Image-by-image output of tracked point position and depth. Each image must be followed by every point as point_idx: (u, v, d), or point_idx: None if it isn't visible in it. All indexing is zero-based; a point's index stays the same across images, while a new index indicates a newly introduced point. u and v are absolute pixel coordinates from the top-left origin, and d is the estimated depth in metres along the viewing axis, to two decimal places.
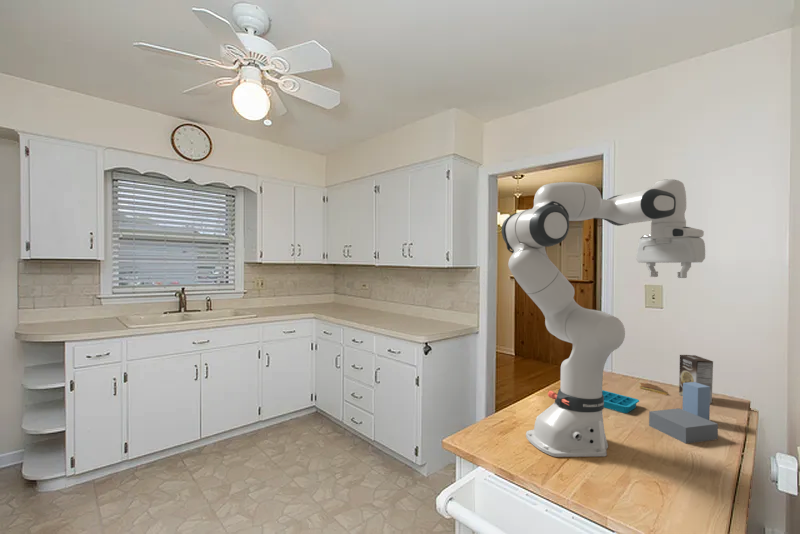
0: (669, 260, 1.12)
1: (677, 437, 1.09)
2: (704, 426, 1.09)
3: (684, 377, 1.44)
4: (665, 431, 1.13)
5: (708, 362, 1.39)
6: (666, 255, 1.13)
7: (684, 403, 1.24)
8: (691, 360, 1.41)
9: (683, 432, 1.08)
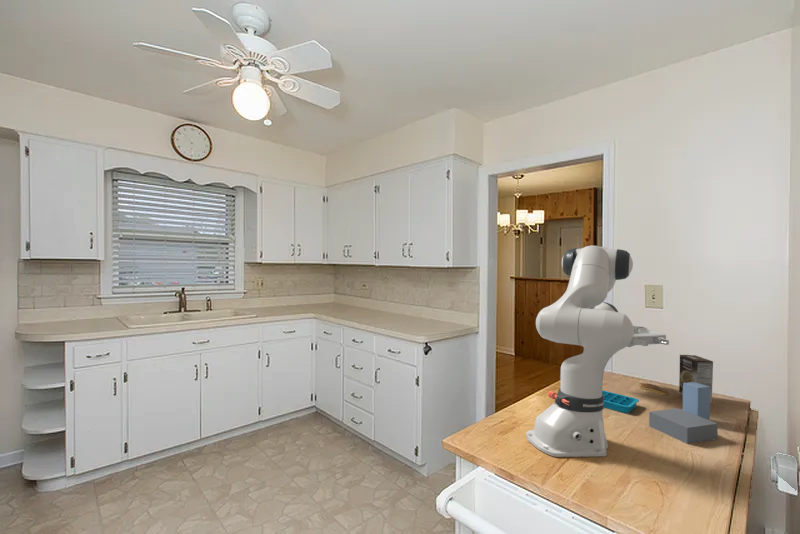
0: (649, 335, 1.43)
1: (678, 437, 1.09)
2: (705, 425, 1.09)
3: (684, 377, 1.44)
4: (666, 432, 1.13)
5: (708, 362, 1.38)
6: (643, 334, 1.44)
7: (684, 403, 1.24)
8: (691, 360, 1.41)
9: (684, 432, 1.08)
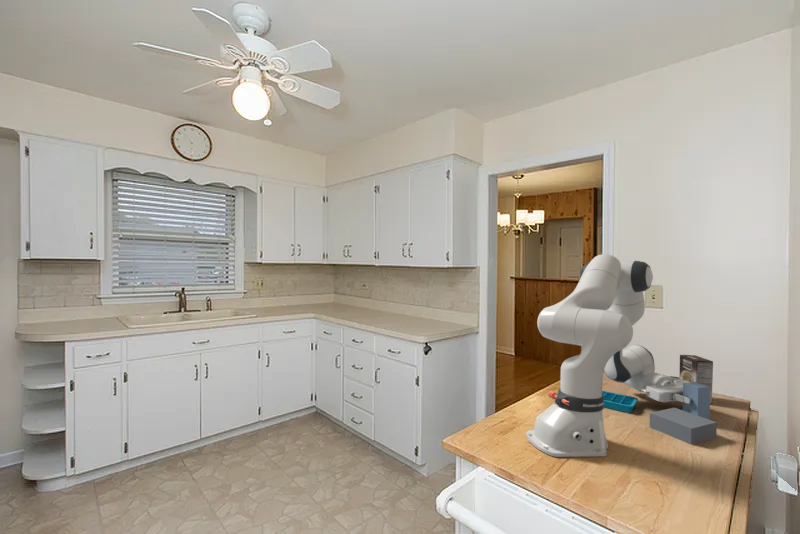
0: None
1: (681, 438, 1.09)
2: (706, 425, 1.09)
3: (684, 377, 1.44)
4: (668, 433, 1.12)
5: (708, 362, 1.38)
6: (681, 388, 1.29)
7: (684, 403, 1.24)
8: (691, 360, 1.41)
9: (687, 433, 1.07)
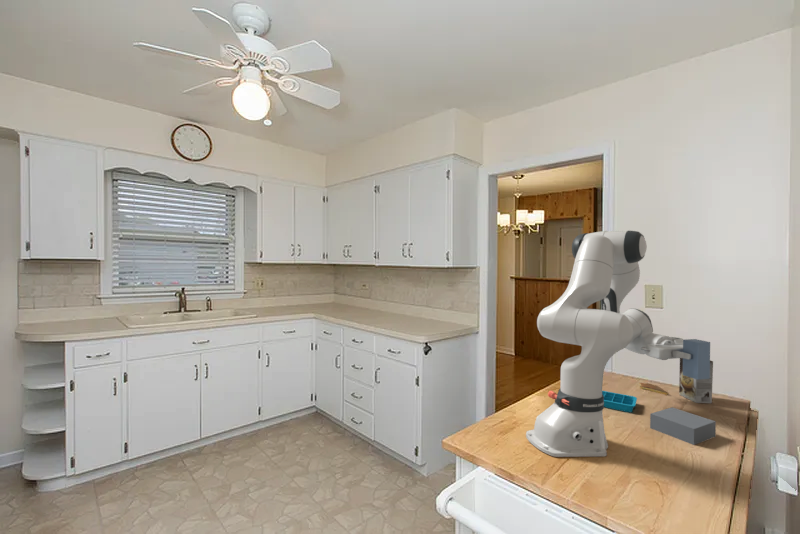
0: None
1: (684, 439, 1.09)
2: (706, 425, 1.09)
3: (684, 377, 1.44)
4: (670, 433, 1.12)
5: None
6: (681, 346, 1.29)
7: (684, 360, 1.24)
8: None
9: (690, 433, 1.07)
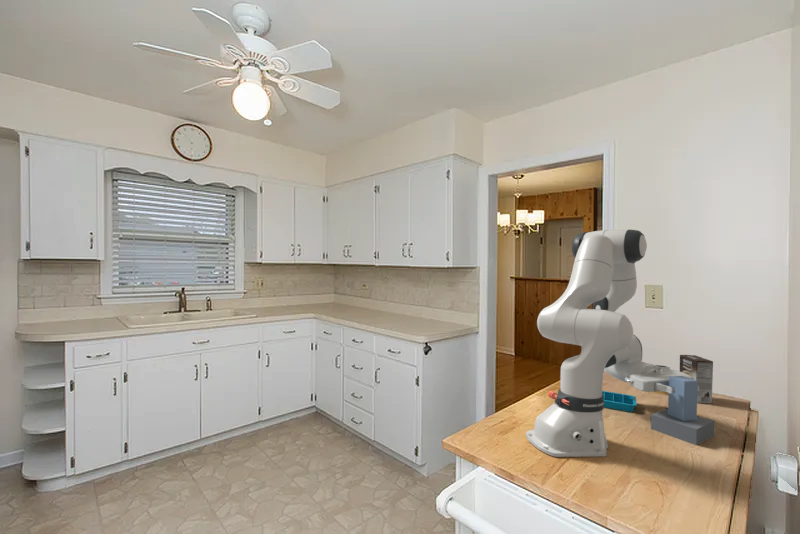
0: None
1: (686, 439, 1.08)
2: (707, 425, 1.10)
3: None
4: (671, 434, 1.12)
5: (708, 362, 1.38)
6: (667, 376, 1.20)
7: (670, 398, 1.16)
8: (691, 360, 1.41)
9: (692, 434, 1.07)
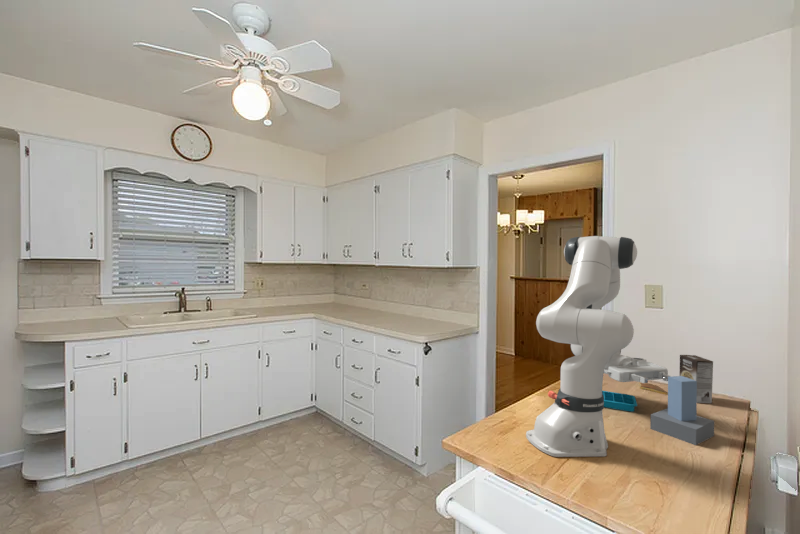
0: (649, 369, 1.28)
1: (685, 439, 1.08)
2: (706, 425, 1.10)
3: None
4: (671, 434, 1.11)
5: (708, 362, 1.38)
6: (643, 368, 1.30)
7: (669, 398, 1.16)
8: (691, 360, 1.41)
9: (692, 434, 1.07)
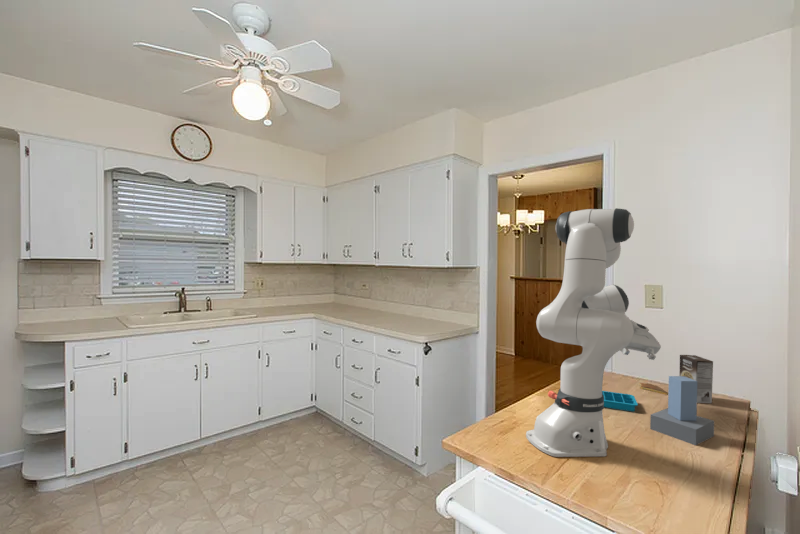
0: (640, 342, 1.30)
1: (685, 439, 1.08)
2: (706, 425, 1.09)
3: None
4: (671, 434, 1.11)
5: (708, 362, 1.39)
6: (636, 338, 1.31)
7: (669, 398, 1.16)
8: (691, 360, 1.41)
9: (692, 434, 1.07)
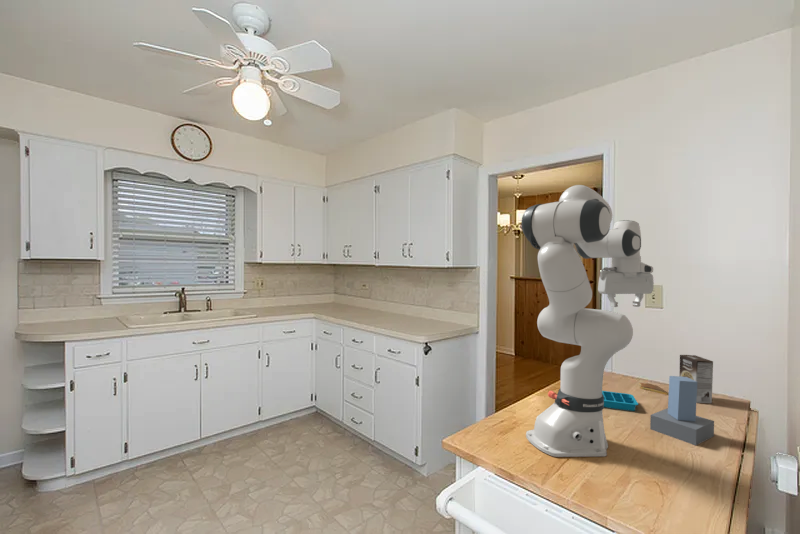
0: (634, 292, 1.28)
1: (685, 440, 1.08)
2: (706, 425, 1.09)
3: None
4: (671, 434, 1.11)
5: (708, 362, 1.38)
6: (632, 287, 1.28)
7: (669, 397, 1.16)
8: (691, 360, 1.41)
9: (692, 434, 1.07)
